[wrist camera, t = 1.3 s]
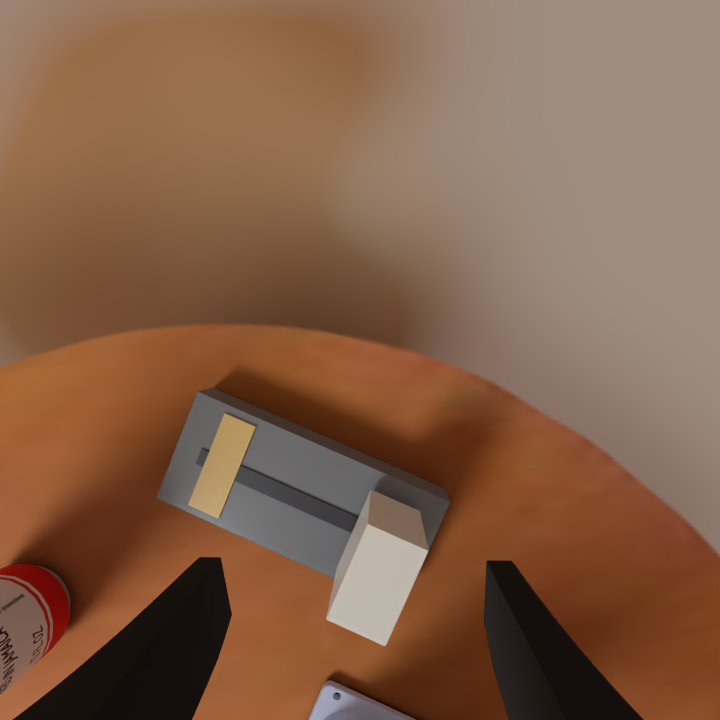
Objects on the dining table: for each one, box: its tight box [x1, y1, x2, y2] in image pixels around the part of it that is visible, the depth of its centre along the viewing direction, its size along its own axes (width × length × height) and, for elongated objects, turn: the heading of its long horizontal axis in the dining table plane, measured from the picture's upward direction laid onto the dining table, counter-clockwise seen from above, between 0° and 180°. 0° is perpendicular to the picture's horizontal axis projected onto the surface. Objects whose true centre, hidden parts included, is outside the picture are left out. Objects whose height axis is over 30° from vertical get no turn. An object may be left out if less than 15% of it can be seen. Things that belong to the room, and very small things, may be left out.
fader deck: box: [156, 388, 450, 579], centre depth 23 cm, size 16×7×2 cm, turn 67°
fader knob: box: [326, 490, 428, 646], centre depth 19 cm, size 3×5×4 cm, turn 157°
